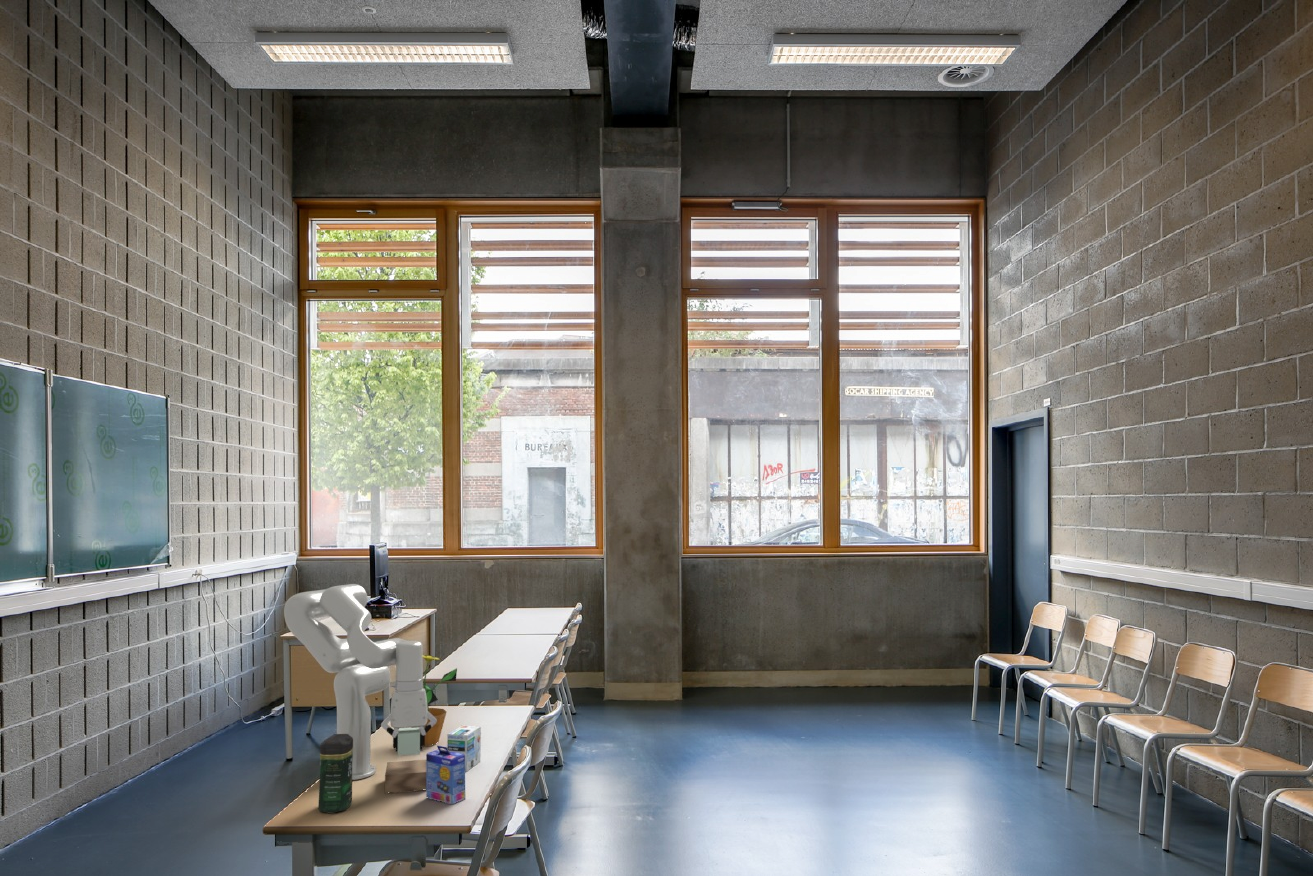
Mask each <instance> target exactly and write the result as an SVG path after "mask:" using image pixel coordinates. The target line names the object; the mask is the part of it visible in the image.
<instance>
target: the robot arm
mask: <svg viewBox="0 0 1313 876" xmlns="http://www.w3.org/2000/svg"><path fill="white" fill-rule="evenodd" d="M368 599H369V598H368V593H367V591H366V589H365V588H364V587H363V586H361V585H360V584H358V583H357V584H356V583H350V584H349V583H348V584H341V585H335V586H331V587H328V588H324V589H320V590H319V589H318V590H310V591H309V590H308V591H303V592H298V593H295V594H294V595H292V596H290V597H289V598H288V599H287V600H286V602H285V603H284V607H283V617H284V622H285V624H286V627H287V629H288V630H289V632H290V633H291V634H292V635H293V636H294V637H295V638H296V639H297V640H298V641H299V642H300V643H301V644H302V645H303V646H304V647H305V648H306V650H308V652H309V654H310V655H312V657H313V658H314V660H316V662H318V664H319V665H320V667H321V668H322V669H323V670H324V671H325V672H327V673H329V674H335V673H336V674H335V676H334V680H333V691H334V695H335V702H336V734H349V735H350V736H351V737H352V738H353V762H352V781H356V780H360V779H361V780H362V779H365V778H369V777H370V776H373V775H374V774H375V773H376V769H377V768H376V767H375V765H373V764H371V739H372V738H371V736H372V735H371V731H372V729H371V728H372V722H371V721H372V714H371V713H372V711H371V708H370V705H369V703H368V701H367V699H366V697H367V696H370V695H373V694H378V693H379V692H383V691H384V690H386V689H387V688H388V687H389V685H390V688H394V689H395V690H393V692H392V695H391V701H390V713H389V715H388V716H387V717H386V718H385V719H384V720H382V722H381V724H380V726H381V728H383V729H384V730H385V731H386V732H387V733H388V734H389V735H390V736H391V737H392V739H393V740H392V748H393V749H395V753H398V731H399V729H403V728H411V727H419V729H420V732H421V733H420V751H423V747H426V746H425V734H426V733H427V732H428V731H429V730H430V729H431V727H432V726H433V725H434V724H435V723H436V722H437V719H436V718H435V717H434V716H433V715H432V714H431V713H429V712H428V711H427V697H426V691H425V689H424V686H423V682H424V678H423V677H424V675H423V673H424V672H423V671H424V669H423V667H424V665H423V664H424V661H423V660H424V658H423V655H424V654H423V653H424V651H423V650H424V646H423V643H422V642H421V641H418V640H406V639H403V638H399V637H394V638H389V639H383V640H378V641H373V640H371V639H370V638H369V637H368V636H367V635H366V634H365V631H366V630H367V628H368V627H369V625H370V624H371V622H372V614H371V612H370V611H369V610H368V609H367V608H366V606H367V604H368ZM325 617H327V618H328V617H331V619H332V620H333V621H335V622H336V623H337V625H338V626H340V627H341V628H342V629H343V630H344V631H345V633H347V634H346V638H340V637H338V636H336V634H335V633H334V632H333V631H332V630H331V628H329V627H328V626H327V625H326V624H324V623H322V622H321V621H318V620H317V619H320V618H325ZM394 665H395V680H394V681H393V682H391V680H392V675H391V671H390V667H392V666H394ZM427 719H429V720H430V721H431V722H430V723H429V724H428V725H427V726H426V727H424V725H426V724H427ZM389 722H390V725H389Z"/></svg>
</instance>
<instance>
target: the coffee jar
mask: <svg viewBox="0 0 1313 876" xmlns="http://www.w3.org/2000/svg"><path fill="white" fill-rule="evenodd" d="M352 762H353V738H352V737H351V736H350V735H349V734H337V733H333V735H331V736H329V737H327V738H326V739H324V740H323V741H322V742H321V743H320V747H319V783H318V784H319V785H318V805H317V806H318V811H320V812H324V813H327V814H335V813H337V812H344V811H346V810H347V809H348V808H349V807H350V806H351V804H352V802H353V780H352Z"/></svg>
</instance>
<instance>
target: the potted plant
mask: <svg viewBox="0 0 1313 876" xmlns="http://www.w3.org/2000/svg"><path fill="white" fill-rule="evenodd" d="M441 659H442V658H441V657H436V656H432V655H427V654H423V660H425V661H426V669H425V672H424V678H423V688H424V689H425V691H426V697H427V711H428V712H429V713H431V714H432V715H433V716H434V717H435V718H436V719H437V722H436V723H435V724H434V725H433V726H432V727H431V729H430V730H429V731H428V732H427V733H426V734H425V746H424V747H429V746H428V745H432V744H435V745H437V744H438V743H439V741H440V737H441V734H442V730H443V727H444V723H445V720H446V715H447V711H446V710H445V709H444V708H439V707H429V705H430V704H432V703H435V702H437V701H438V700H439V699H438V697H437V696H436V694H435V691H434V689H435V688H436V687H437V686H438V685H439V684H440V683H441V682H456V681H457V672H458V668H457V667H456V668H455V669H452V670H451V671H449V672H447V673H445V674H443V676H442V678H441V680H440V681H439V682H438V683H436V684H435V685H434V687H432V688H431V687H429V686H428V685H426V679H427V672H428V664H429V663H430V662H432V661H434V660H438V661H441ZM430 722H431V721H430V720H429V719H427V724H426V725H424V727H426V726H427V725H428V724H429V723H430ZM410 728H417V727H410ZM420 733H421V732H420ZM437 742H438V743H437ZM436 743H437V744H436ZM432 746H433V745H432Z"/></svg>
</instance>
